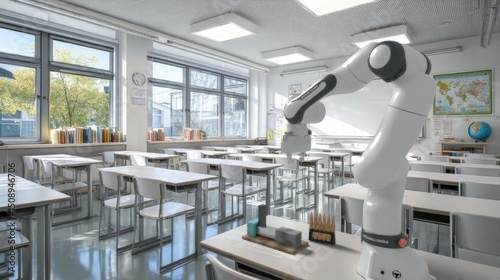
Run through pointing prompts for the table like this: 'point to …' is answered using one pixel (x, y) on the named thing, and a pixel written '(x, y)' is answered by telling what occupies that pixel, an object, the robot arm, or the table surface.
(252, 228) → the socket block
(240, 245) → the table surface
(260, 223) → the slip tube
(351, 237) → the table surface
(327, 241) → the ammunition clip
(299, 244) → the board
